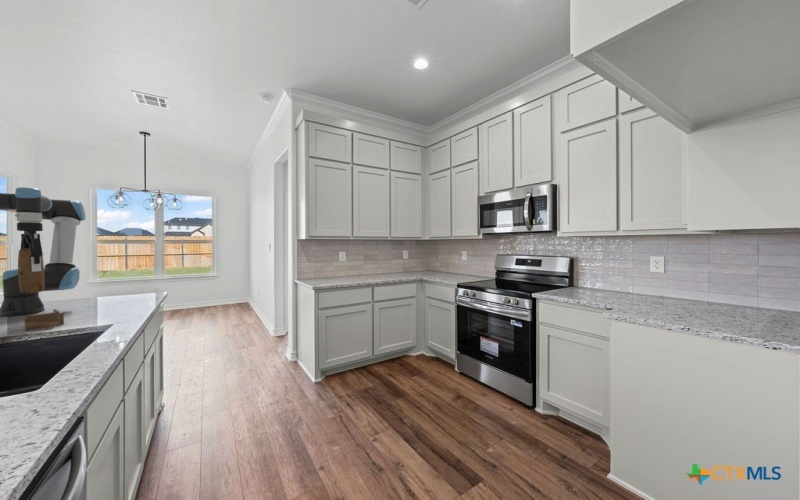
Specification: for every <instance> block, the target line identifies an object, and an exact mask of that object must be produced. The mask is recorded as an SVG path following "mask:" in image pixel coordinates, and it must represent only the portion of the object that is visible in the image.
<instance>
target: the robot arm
mask: <svg viewBox="0 0 800 500" xmlns="http://www.w3.org/2000/svg"><path fill="white" fill-rule="evenodd" d="M0 211H4V212H5V211H6V212H10V213H15V214H14V217H16V221H17V223H16V230H17V231H18V232H23V233H21V234H20V238H21V239H20V249H23V248H30V250H31V253H32V255H30V257H31V265H32V272H34V271H41V257H40V256H41V255H44V253H43V248H42V243H41V234H40V233H37V232H43V231H44V230H43V220H49V221H51V223H52V224H53V225H54V227H53V234H52V241H51V248H50V254H49V255H50V256H49V262H48V263H45V265H44V280H45V281H44V282H45V289H44V291H43V292H49V291H51V292H52V291H53V292H54V291H67V290H72V289H74V288H76V287H77V286H78V284H79V281H80V277H81V276H80V269H79V268H78V267H77V266H76V264H74V263H73V260H74V250H75V240H76V234H77V233H76V232H77V226H79V225H80V224H81V222H83V221H85V220H86V212H85V208H84V205H83V203H82V202H81V201H79V200H73V199H72V200H71V199H69V200H68V199H51V198H48V197H47V196H44V195H43V194H42V191H41V190H40V189H38V188H34V187H23V186H22V187H19V186H18V187H16V188H15V192H14V193H8V192H7V193H4V192H0ZM1 281H2V292H3V300H2V303H1V305H0V317H11V316H12V317H13V316H22V315H24V316H25V315H31V314H36V313H39V312H43V311H45V304H44V303H43V301H42V299H41V298H40V294H39V293H40V292H34V293H21V292H20V290H19V281H18V268H15V269H14V268H13V269H7V270H5V271H3V272H2V279H1Z"/></svg>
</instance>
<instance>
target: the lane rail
mask: <svg viewBox="0 0 800 500" xmlns="http://www.w3.org/2000/svg"><path fill="white" fill-rule="evenodd" d="M52 311H53V312H56V313H57V324H58V323H59V324H60V325H64V324H65V320H64V312H63V311H60V310H58V309H56V308H55V309H53V310H52ZM53 312H52V313H53Z"/></svg>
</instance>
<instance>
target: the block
mask: <svg viewBox="0 0 800 500" xmlns="http://www.w3.org/2000/svg"><path fill="white" fill-rule="evenodd" d="M30 255H32V253H31V250H30V248H23V249H21V248H20V249H19V250H18V258H17V269H18V281H19V290H20V292H21V293H34V292H39V293H40V292H45V291H44V289H45V282H44V281H45V280H44V268H45V265H44V264H45V263H44V256H43V255H44V254H43V255H41V256H40V257H41V271H34V272H32V265H31V257H30Z"/></svg>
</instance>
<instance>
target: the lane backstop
mask: <svg viewBox="0 0 800 500" xmlns="http://www.w3.org/2000/svg"><path fill="white" fill-rule="evenodd" d="M57 326H58V322H57V313H56V312H47V313H40V314H33V315H26V316H25V315H24V330H25V331H26V332H28V330H29V331H34V330H40V329H48V328H52V327H57Z"/></svg>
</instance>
